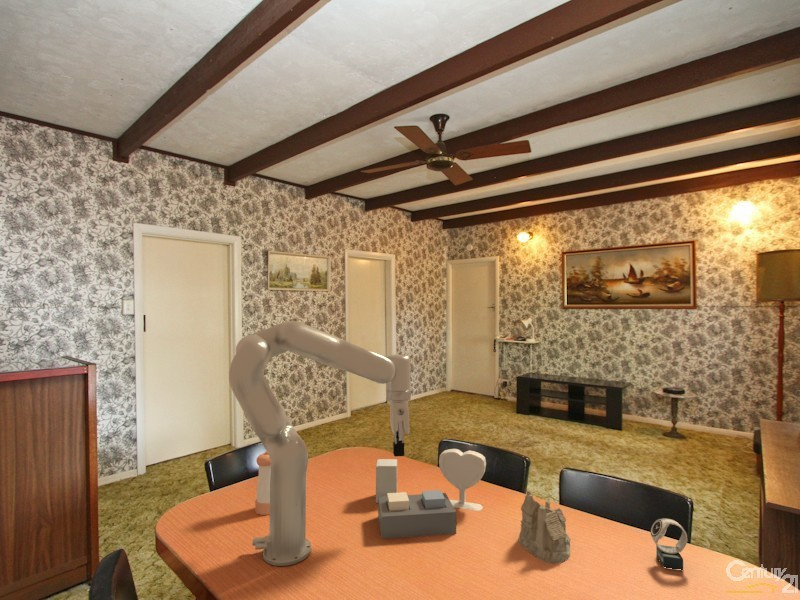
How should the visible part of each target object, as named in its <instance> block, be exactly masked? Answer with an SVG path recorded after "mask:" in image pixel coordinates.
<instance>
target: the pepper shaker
mask: <svg viewBox="0 0 800 600" xmlns="http://www.w3.org/2000/svg"><path fill="white" fill-rule="evenodd" d="M255 461H256V464H257V465H258V479H257V485H256V499H255V502H254V503H255V505H254V506H255V508H254V509H255V511H254V512H255V513H256V515H259V514H260V515H259V516H268V514H269V515H270V476H271V459H270V457H269V454H268V452H267V450H265V452H263V453H261V454H259V455H258V456H257V458H256V460H255Z"/></svg>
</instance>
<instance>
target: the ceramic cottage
mask: <svg viewBox="0 0 800 600" xmlns="http://www.w3.org/2000/svg"><path fill="white" fill-rule="evenodd" d="M525 492H526V495H524V501H523V503H522V504H521V507H520V510H521V514H522V517H521V518H522V519H521V520H520V523H521V524H520V532H519V534H518V535H519V537H518V541H519V545H520V546H521V547H522V548H524V549H525V550H527V551H528V552H529V553H530V554H531V555H533V556H534V557H535V558H537V559H538V560H540V561H541V562H545V563H548V564H556V563H557V564H560V563H559V562H561V563H563V561H564V560H566V559H567V560H569V559H570V558H571V549H570V548H571V544H570V541H572V540H571V538H570V536H569V534H568V533H567V531H566V530H567V526H566V522H567V518H566V517H565V515H564V513H563V510H562V509H561V508H560V507H557V508H554V509H551V502H550V500H546V501H544V502H545V505H543V504H541V503H540V502H538V501H537V500H534V495H532V491H531V490H530V489H527V490H525ZM569 557H570V558H569ZM568 558H569V559H568ZM567 560H566V561H567ZM564 562H565V561H564Z"/></svg>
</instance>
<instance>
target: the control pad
mask: <svg viewBox="0 0 800 600" xmlns="http://www.w3.org/2000/svg"><path fill="white" fill-rule="evenodd" d="M442 494H443V496H444V498H445V508H430V509H424V506H423V504H422V493H420V494H407V496H408V499H409V510H398V511H388V508H387V496H384V497H378V503H377V505H378V506H377V508H378V510H377V511H378V512H377V513H378V515H377V518H378V524H379V529H380V530H379V531H380V534H381V535H380V536H381V540H384V539H385V540H387V539H399V538H412V537H416V538H417V537H425V536H426V537H427V536H441V535H442V536H443V535H444V536H445V535H454V534H455V535H456V534H457V510H456V509H455V507H453V505H452V504H451V502H450V500H451V499H449V497H448V495H447V493H446V492H442Z"/></svg>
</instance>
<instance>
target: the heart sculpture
mask: <svg viewBox="0 0 800 600" xmlns="http://www.w3.org/2000/svg"><path fill="white" fill-rule="evenodd" d="M438 459H439V460H438V464H439V470H440V472H441V474H442V476H443V478H445V479H446V480H447V481H448V482H449V483H450V484H451V485H452V486H454V487H455V488H456V489H457V490H459V491H458V492H459V498H458V499H459V500H455V499H449V500H450V502H451V504H452V505H453V507H454V508H457V509H464V510H470V511H475V512H480V511H482V510H483V508H484V507H483V506H482V505H481V504H480V503H473V502H468V501H466V490H467V489H470V488H472V487H474V486H475V485H476V484H478V483H479V482H480V481H481V480H482V478H483V477H484V474H485V472H486V468H487V467H486V466H487V460H486V456H484V455H483V454H482V453H480V452H477V451H474V450H469V449H468V450H467V451H464V452H463V451H462V450H460V449H458V448H450V449H445V450H443V451H442V452H441V454H440V455H439V458H438Z"/></svg>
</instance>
